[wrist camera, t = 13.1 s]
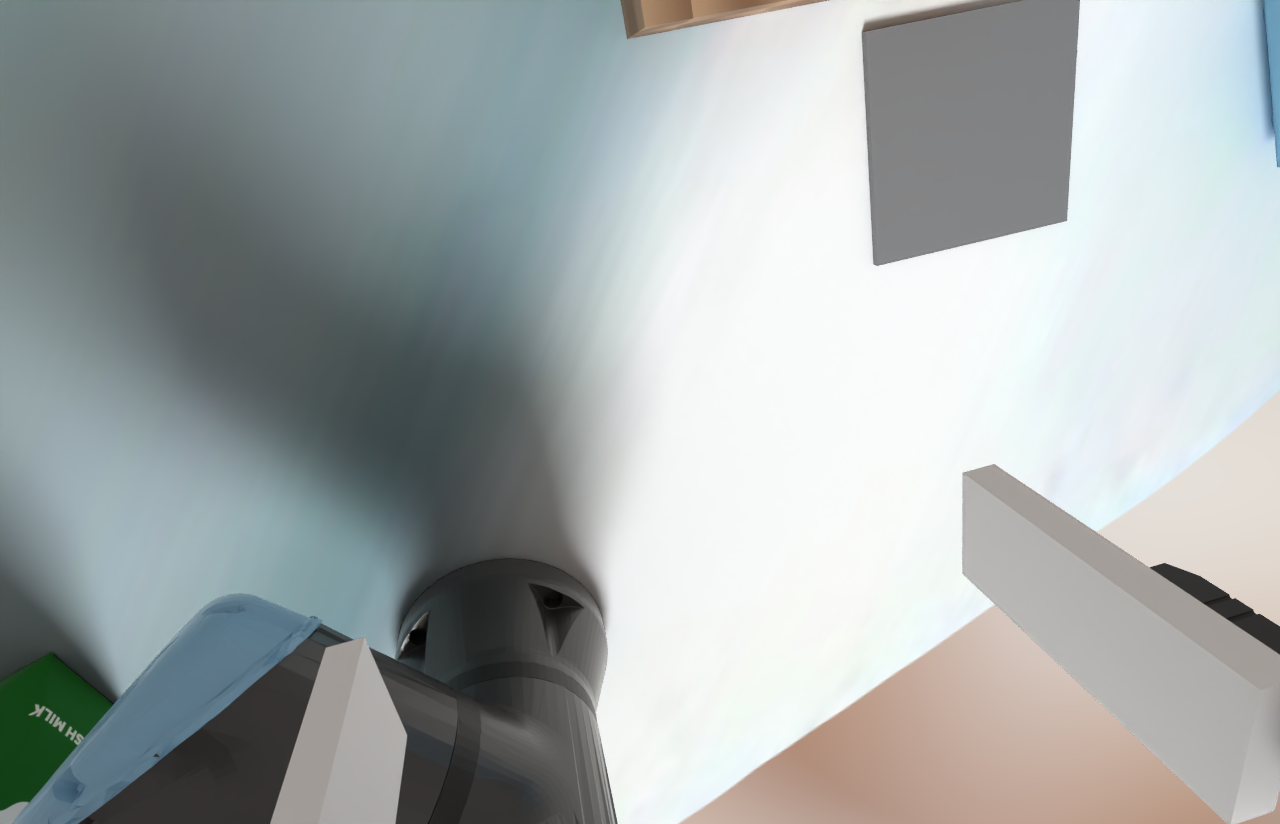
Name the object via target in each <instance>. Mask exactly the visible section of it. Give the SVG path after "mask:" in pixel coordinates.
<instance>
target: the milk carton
mask: <svg viewBox="0 0 1280 824" xmlns="http://www.w3.org/2000/svg"><path fill="white" fill-rule="evenodd" d="M112 706H113V704H112V703H111V702H109V701H108V700H107V699H106V698H105V697H104V696H102V695H101V694H100V693H99V692H98V691H96V690H95V689H94V688H93V687H92V686H90V685H89V684H88V683H87V682H86V681H84V680H83V679H82V678H81V677H80V676H78V675H77V674H76V673H75V672H74V671H72V670H71V669H70V668H69V667H68V666H66V665H65V664H64V663H63V662H62V661H60V660H59V659H58V658H57V657H56V656H54V655H53V654H52V653H49V654H47V655H46V656H44V657H42V658H40V659H38V660H37V661H35V662H33V663H31V664H29V665H28V666H26V667H24V668H22V669H20V670H18V671H17V672H15V673H13V674H11V675H9V676H8V677H6V678H4V679H2V680H0V824H12V823H13V822H14V820H15V819H16V818H17V817H18V815H19V814H20V813H21V812H22V810H23V809H24V808H25V807H26V806H27V804H28V803H29V802H30V801H31V800H32V799H33V798H34V797H35V796H36V794H37V793H38V792H39V791H40V790H41V789H42V787H43V786H44V785H45V784H46V783H47V782H48V780H49V779H50V778H51V777H52V775H53V774H54V773H55V772H56V771H57V769H58V768H59V767H60V766H61V765H62V763H63V762H64V761H65V760H66V759H67V757H68V756H69V755H70V754H71V753H72V752H73V750H74V749H75V748H76V747H77V746H78V745H79V744H80V742H81V741H82V740H83V739H84V738H85V737H86V736H87V734H88V733H89V732H90V731H91V730H92V729H93V728H94V726H95V725H96V724H97V723H98V722H99V721H100V719H101V718H102V717H103V716H104V715H105V714H106V713H107V712H108V710H109V709H110V708H111V707H112Z"/></svg>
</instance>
